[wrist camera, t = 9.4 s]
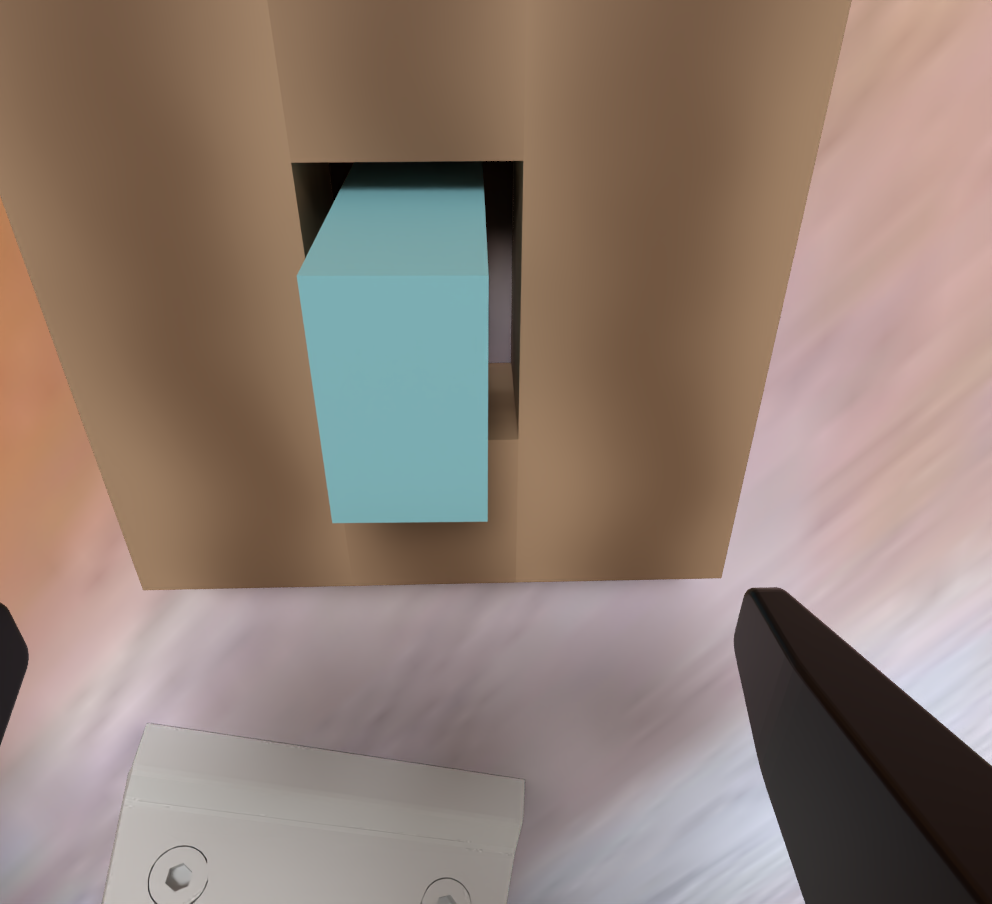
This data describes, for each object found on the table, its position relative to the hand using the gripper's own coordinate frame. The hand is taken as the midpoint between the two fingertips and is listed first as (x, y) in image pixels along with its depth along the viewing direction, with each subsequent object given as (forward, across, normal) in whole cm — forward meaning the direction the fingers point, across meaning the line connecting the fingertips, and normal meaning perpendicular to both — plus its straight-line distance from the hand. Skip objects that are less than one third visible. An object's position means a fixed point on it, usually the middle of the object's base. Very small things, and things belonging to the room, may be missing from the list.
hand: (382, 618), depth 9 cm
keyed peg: (+13, 0, 0) cm, 13 cm away
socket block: (+13, 0, 0) cm, 13 cm away
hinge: (+13, +6, +25) cm, 29 cm away
